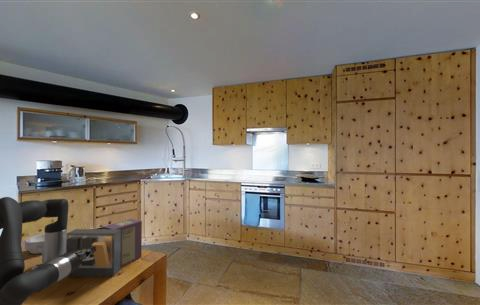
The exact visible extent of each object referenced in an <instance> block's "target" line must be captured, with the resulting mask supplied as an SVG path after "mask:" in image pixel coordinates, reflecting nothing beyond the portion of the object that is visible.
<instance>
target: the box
mask: <svg viewBox="0 0 480 305" xmlns="http://www.w3.org/2000/svg"><path fill="white" fill-rule="evenodd" d="M142 224H143V221H142V220H138V219H133V218H129V219H125V220H122V221H118V222H114V223H111V224H107V225H104V226H102V229H121V244H120V268H121V267H123V266H125V265H128V264H130V263H132V262H133V261H136V260H138V259H140V258H142V250H143V249H142V241H143V240H142V239H143V238H142V234H143V232H142V231H143V229H142V228H143V227H142V226H143V225H142Z"/></svg>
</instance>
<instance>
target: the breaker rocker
mask: <svg viewBox="0 0 480 305" xmlns="http://www.w3.org/2000/svg"><path fill="white" fill-rule="evenodd" d="M92 246H96V251H95V252H94V258H95V263H96V267H108V266H109V264H110V262H109V257H108V251H107V248H106V243H105V242H94V243H93V244H92Z"/></svg>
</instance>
